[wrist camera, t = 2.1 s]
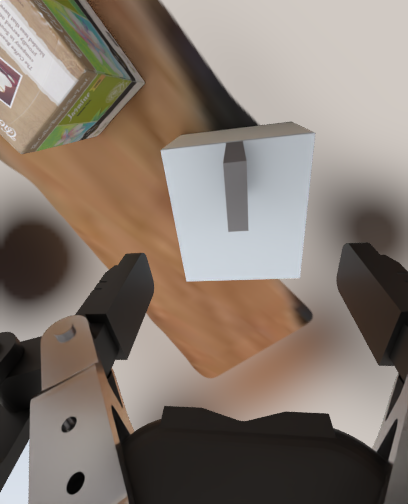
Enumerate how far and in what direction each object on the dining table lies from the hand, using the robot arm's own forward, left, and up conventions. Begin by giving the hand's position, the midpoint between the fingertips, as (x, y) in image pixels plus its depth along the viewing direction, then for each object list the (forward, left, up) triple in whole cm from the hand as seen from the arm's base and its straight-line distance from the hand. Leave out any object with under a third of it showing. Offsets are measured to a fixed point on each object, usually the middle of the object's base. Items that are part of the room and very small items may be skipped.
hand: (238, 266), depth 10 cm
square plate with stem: (+5, 0, -17) cm, 18 cm away
